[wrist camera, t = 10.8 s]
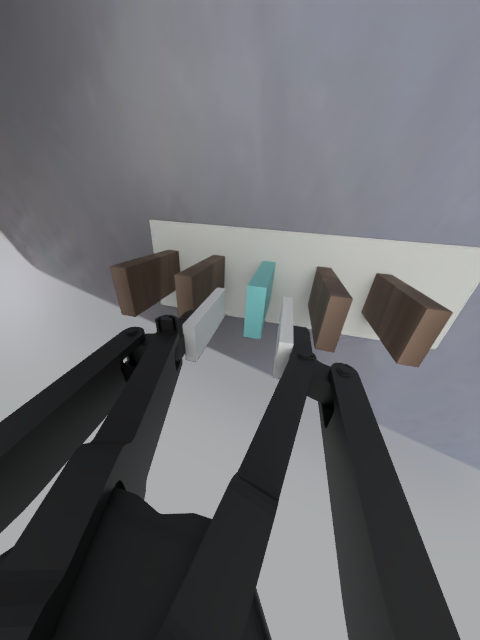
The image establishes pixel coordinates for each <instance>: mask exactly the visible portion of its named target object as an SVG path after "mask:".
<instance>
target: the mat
mask: <svg viewBox="0 0 480 640" xmlns="http://www.w3.org/2000/svg"><path fill="white" fill-rule="evenodd" d="M149 222H150V229H151V236H152V243H153V250H154V254H155V253H158V252H162V251H165V250H175V251H179V261H180V272H181V271H183V270H185V269H187V268H189V267H191V266H193V265H195V264H196V263H198V262H200V261H202V260H204V259H206V258H208V257H210V256H212V255H220V256H225V282H224V288H225V315H228V316H234V317H240V318H245V309H246V297H247V285H248V284H249V282H250V281H251V279H252V277H253V276H254V274H255V273H256V271H257V269H258V268H259V266H260V265H261V263H262V262H263V261H270V262H276V265H275V272H274V279H273V286H272V293H271V300H270V304H269V307H268V311H267V315H266V319H265V322H271V323H277V324H279V319H280V313H281V307H282V302H283V296H284V297H291V298H293V325H294V326H301V327H306V328H307V329H312V328H311V321H310V315H309V309H308V302H309V298H310V293H311V289H312V285H313V281H314V277H315V273H316V269H317V266H319V267H328V268H332V270H333V271H334V273H335V274H336V275H337V277H338V278H339V280H340V281H341V282H342V284H343V285H344V287H345V288H346V290H347V291H348V292H349V294H350V295H351V297H352V298H353V301H352V304H351V306H350V309H349V312H348V315H347V318H346V320H345V323H344V326H343V329H342V332H341V334H344V335H350V336H356V337H363V338H369V339H375V340H380V339H379V337H378V336H377V335H376V333H375V332H374V330H373V329H372V327H371V326H370V324H369V323H368V322H367V320H366V319H365V317H364V316H363V314H362V313H361V312H362V309H363V306H364V304H365V301H366V299H367V296H368V294H369V291H370V288H371V286H372V283H373V281H374V278H375V276H376V273H381V274H390V275H393V276H395V277H397V278H398V279H400V280H402V281H403V282H405V283H406V284H408V285H410V286H411V287H413V288H415V289H416V290H418V291H419V292H421V293H423V294H424V295H426V296H428V297H429V298H431V299H432V300H434V301H436V302H437V303H439V304H441V305H442V306H444V307H445V308H447V309H449V310H450V311H452V312H453V314H452V315H451V317H450V318H449V320H448V322H447V323H446V325H445V326H444V328H443V329H442V331H441V333H440V334H439V336H438V337H437V339H436V340H435V342H434V344H433V345H432V347H431V348H430V349H436V348H437V346H438V345H439V343H440V342H441V340H442V339H443V337H444V336H445V334H446V333H447V331H448V329H449V328H450V326H451V325H452V323H453V322H454V320H455V319H456V317H457V316H458V314H459V313H460V311H461V310H462V308H463V306H464V305H465V303H466V302H467V300H468V299H469V297H470V296H471V294H472V293H473V291H474V290H475V288H476V287H477V285H478V283H479V282H480V247H468V246H456V245H445V244H433V243H421V242H409V241H397V240H385V239H374V238H362V237H350V236H338V235H326V234H314V233H303V232H291V231H279V230H267V229H255V228H243V227H232V226H220V225H208V224H196V223H184V222H172V221H161V220H149ZM160 301H161V305H167V306H173V307H177V298H176V291H174V292H172V293H171V294H169V295H168V296H166V297H165V298H163V299H162V300H160Z"/></svg>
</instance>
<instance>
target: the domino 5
mask: <svg viewBox="0 0 480 640" xmlns="http://www.w3.org/2000/svg"><path fill="white" fill-rule="evenodd" d="M361 313H362V314H363V316H364V317H365V319H366V320H367V322H368V323H369V324H370V326H371V327H372V329H373V330H374V332H375V333H376V335H377V336H378V337H379V339H380V340H381V342H382V343H383V345H384V346H385V348H386V349H387V350H388V352H389V353H390V355H391V356H392V358H393V359H394V361H395V362H396V363H397V364H402V365H408V366H413V367H419V366H420V364H421V362H422V361H423V359H424V358H425V356H426V355H427V353H428V351H429V350H430V348H431V347H432V345H433V344H434V342H435V340H436V339H437V337H438V336H439V334H440V333H441V331H442V329H443V328H444V326H445V325H446V323H447V322H448V320H449V318H450V317H451V315H452V314H453V312H452V311H450V310H449V309H447V308H445V307H444V306H442V305H441V304H439V303H437V302H436V301H434V300H432V299H431V298H429V297H428V296H426V295H424V294H423V293H421V292H419V291H418V290H416V289H415V288H413V287H411V286H410V285H408V284H406V283H405V282H403V281H402V280H400V279H398V278H397V277H395V276H393V275H390V274H381V273H376V276H375V278H374V281H373V283H372V286H371V288H370V291H369V294H368V296H367V299H366V301H365V304H364V306H363V309H362V312H361Z"/></svg>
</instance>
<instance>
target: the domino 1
mask: <svg viewBox="0 0 480 640" xmlns="http://www.w3.org/2000/svg"><path fill="white" fill-rule="evenodd" d="M110 268H111V272H112V277H113V281H114V285H115V289H116V293H117V297H118V301H119V305H120V309H121V313H122V314H123V315H128V316H134V317H136V316H137V315H139V314H140V313H142V312H143V311H145V310H147V309H148V308H150V307H151V306H153V305H154V304H156V303H157V302H159V301H160V300H162V299H163V298H165V297H166V296H168V295H169V294H171V293H172V292H174V291H176V288H175V277H174V275H175V274H177V273H179V272H180V261H179V251H175V250H165V251H162V252H158V253H155V254H151V255H148V256H144V257H141V258H137V259H134V260H130V261H127V262H123V263H120V264H117V265H113V266H110Z"/></svg>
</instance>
